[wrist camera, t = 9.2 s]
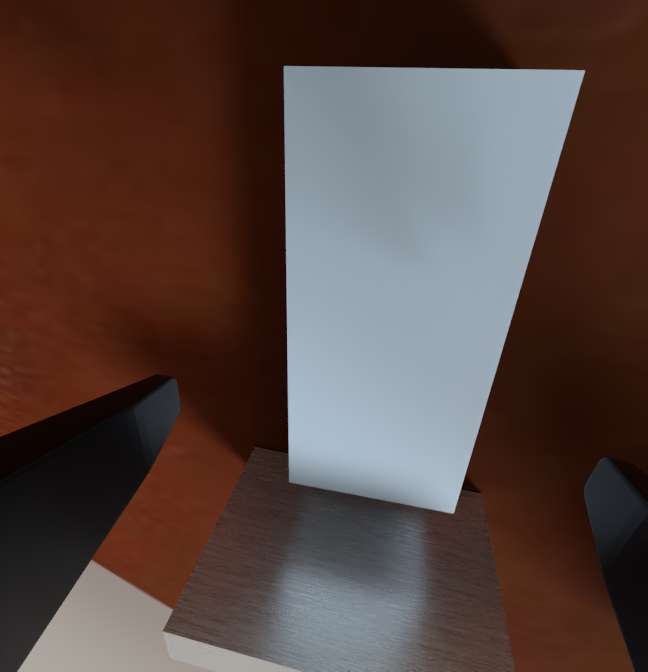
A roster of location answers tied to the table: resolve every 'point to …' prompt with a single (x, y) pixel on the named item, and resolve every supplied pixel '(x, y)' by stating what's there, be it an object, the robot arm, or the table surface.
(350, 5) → the table surface
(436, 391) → the light blue rectangular block
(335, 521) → the l-shaped bookend
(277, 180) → the table surface
